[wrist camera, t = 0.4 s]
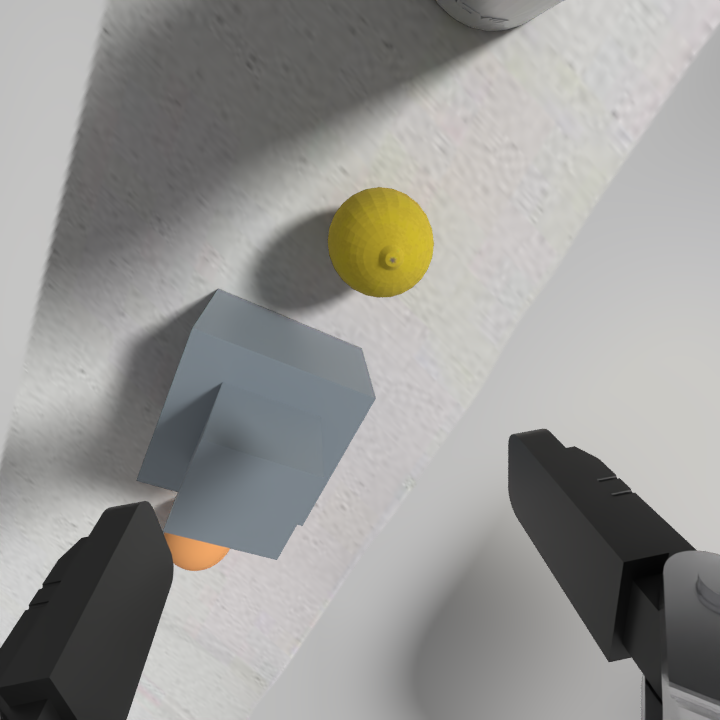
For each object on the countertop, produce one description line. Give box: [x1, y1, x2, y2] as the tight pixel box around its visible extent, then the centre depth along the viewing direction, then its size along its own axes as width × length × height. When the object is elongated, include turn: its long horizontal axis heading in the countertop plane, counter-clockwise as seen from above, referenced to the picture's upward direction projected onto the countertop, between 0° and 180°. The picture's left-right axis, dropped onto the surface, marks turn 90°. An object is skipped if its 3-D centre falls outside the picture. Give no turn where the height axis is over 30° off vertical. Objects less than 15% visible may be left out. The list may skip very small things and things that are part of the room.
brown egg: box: [164, 532, 230, 571], centre depth 32 cm, size 5×5×5 cm
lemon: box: [328, 187, 434, 297], centre depth 23 cm, size 6×6×8 cm
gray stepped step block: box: [136, 289, 376, 560], centre depth 25 cm, size 10×10×12 cm
